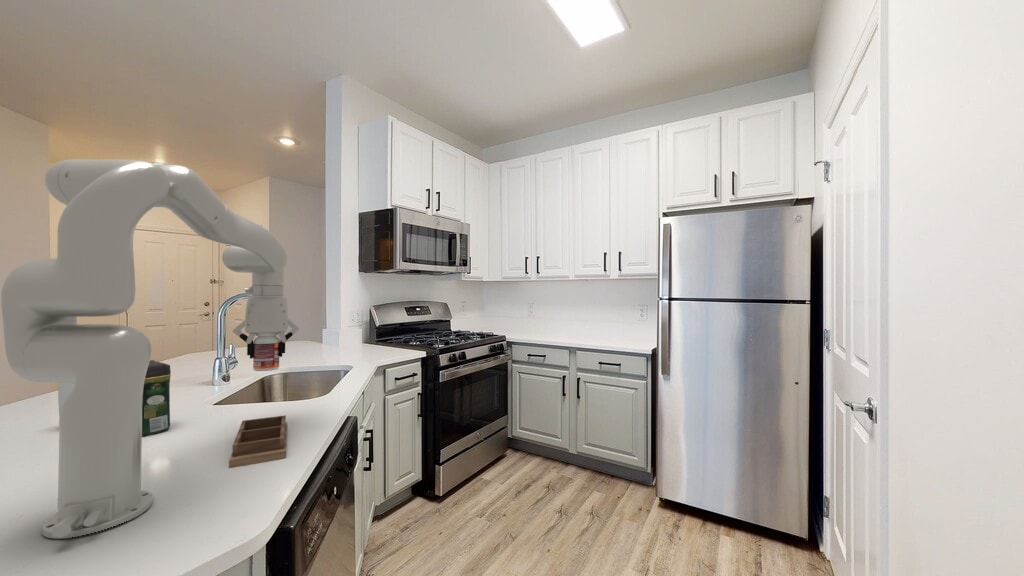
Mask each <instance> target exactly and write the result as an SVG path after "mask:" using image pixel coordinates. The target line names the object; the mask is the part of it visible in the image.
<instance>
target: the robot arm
mask: <svg viewBox="0 0 1024 576" xmlns="http://www.w3.org/2000/svg"><path fill="white" fill-rule="evenodd" d="M44 182H45V185H46V189H47V190H48V192H49V194H50V195H51V196H52V197H53V198H54V199H55V200H56V201H58V202H59V203H61V204H62V205H65V208H64V209H63V211H62V213H61V216H60V218H59V221H58V225H57V247H56V248H57V249H56V251H57V252H56V254H57V255H56V258H39V259H32V260H29V261H25V262H23V263H21V264H19V265H18V266H16V267H15V268H13V269H12V270H11V271H10V272H9V273H8V275H6V278H5V279H4V282H3V284H2V287H1V290H0V291H1V292H0V303H1V304H0V305H1V316H2V328H3V329H2V330H3V338H4V347H5V349H4V350H5V354H6V359H7V363H8V364H9V367H10V369H11V370H12V371H13V372H14V373H15V375H17V376H18V377H19V378H22V379H23V380H26V381H30V382H35V383H57V384H58V383H75V386H74V388H73V390H72V391H71V393H70V394H69V396H68V397H67V399H66V401H65V402H64V404H63V406H62V409H61V412H60V417H59V416H58V429H59V433H58V437H59V438H58V439H59V440H58V481H57V482H58V483H57V484H58V485H57V512H55V513H54V514H52V515H50V516H49V517H48V518H47V519H46V520H44V521H43V523H42V524H41V534H42V536H43V537H45V538H49V539H59V540H60V539H61V540H62V539H72V537H73V538H77V537H78V536H79V537H83V536H82V535H84V536H87V535H86V534H89V535H91V534H90V533H93V534H95V533H94V532H96V533H99V532H98V531H100V530H103V531H105V530H104V529H106V530H108V529H107V528H109V529H111V528H110V527H112V528H114V527H113V526H115V527H117V526H119V525H118V524H120V525H122V524H121V523H123V524H125V523H126V521H127V522H128V521H131V520H134V519H135V518H137V517H139V516H140V515H142V514H143V513H145V512H146V511H147V510H148V509H149V508H150V507H151V506H152V504H153V500H154V497H153V494H152V493H151V492H149V491H147V490H142V457H143V456H142V451H143V449H142V448H143V447H142V446H143V435H142V399H143V387H144V381H145V376H146V372H147V369H148V365H149V362H150V360H151V357H152V344H151V341H150V340H149V338H148V336H147V335H146V334H145V333H143V332H142V331H140V329H137V328H134V327H131V326H128V325H123V324H109V323H108V324H107V323H105V324H102V323H101V324H100V323H99V324H98V323H93V324H91V323H88V324H87V323H86V324H85V323H84V324H78V318H84V317H85V318H89V317H91V318H92V317H93V318H95V317H110V316H111V317H112V316H117V315H120V314H123V313H126V312H127V311H129V309H130V308H131V307H132V306H133V305H134V302H135V299H136V276H135V275H136V274H135V258H134V257H135V255H134V233H135V230H136V227H137V225H138V223H139V222H140V221H141V219H142V218H143V217H144V216H145V215H146V214H147V213H148V212H150V211H151V210H152V209H153V208H165V209H168V210H170V211H171V212H172V213H173V214H174V215H175V216H176V217H178V218H179V219H180V220H181V221H182V222H183V223H184V224H185V225H187V226H188V228H190V229H191V230H192V231H193V232H194V233H195V234H197V235H198V236H199V237H201V238H203V239H206V240H209V241H212V242H216V243H220V244H222V245H223V244H224V245H228V246H227V247H226V248H225V249H224V250H223V252H222V255H221V260H222V263H223V265H224V266H225V267H226V268H227V269H229V270H230V271H232V272H235V273H245V274H247V273H249V274H252V275H251V286H249V287H246V288H244V290H245V294H247V293H248V294H250V295H251V296H249V297H247V300H246V304H245V305H246V306H245V315H244V320H243V321H242V322H241V323H239V324H238V325H237V326H236V327H235V328H233V330H232V332H233V333H234V334H235V335H237V336H238V337H239V338H240V339H241V340H243V342H245V343H246V344H247V345H246V346H247V347H246V356H249V359H250V360H251V359H253V356H254V338H255V337H256V334H264V333H278V335H277V336H279V337H278V338H279V340H280V343H279V358H283V354H286V342H287V341H288V340H289V339H290V338H292V337H293V336H294V335H295V333H297V332H298V331H299V329H300V328H299V327H298V326H297V325H296V324H295V323H294V322H293V321H291V320H290V319H289V308H288V307H289V306H288V300H287V297H284V283H285V281H284V278H285V277H284V276H285V275H284V274H285V268H286V267H287V263H288V255H287V253H286V250H285V247H284V246H283V245H282V244H281V241H279V240H278V238H277V237H276V236H275V235H274V234H273V233H272V232H271V231H270V230H268V229H267V228H266V227H264V226H262V225H260V224H259V223H256V222H254V221H252V220H250V219H248V218H246V217H244V216H242V215H239V214H238V213H235V212H234V211H232V210H231V209H230V208H229V207H228V206H227V205H226V203H224V202H223V200H222V199H220V197H219V196H218V195H217V194H216V193H215V192H214V191H213V189H212V188H210V186H209V185H208V184H207V183H206V182H205V180H203V179H202V178H201V177H200V175H199V174H197V173H196V172H195V171H194V170H193V169H191V168H190V167H187V166H184V165H179V164H163V163H162V164H159V163H158V164H155V163H153V162H149V161H144V160H138V159H121V158H120V159H116V158H114V159H112V158H110V159H88V158H87V159H83V158H82V159H77V158H76V159H64V160H60V161H57V162H55V163H54V164H53V165H51V166H50V168H48V169H47V171H46V173H45V177H44ZM289 327H290V328H291V330H290V331H289V332H288V333H286V334H285V332H287V331H288V330H289ZM242 329H244V332H245V333H244V332H243V331H242ZM246 333H247V334H248V335H246ZM124 522H125V523H124ZM116 525H117V526H116ZM100 532H101V531H100Z"/></svg>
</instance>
